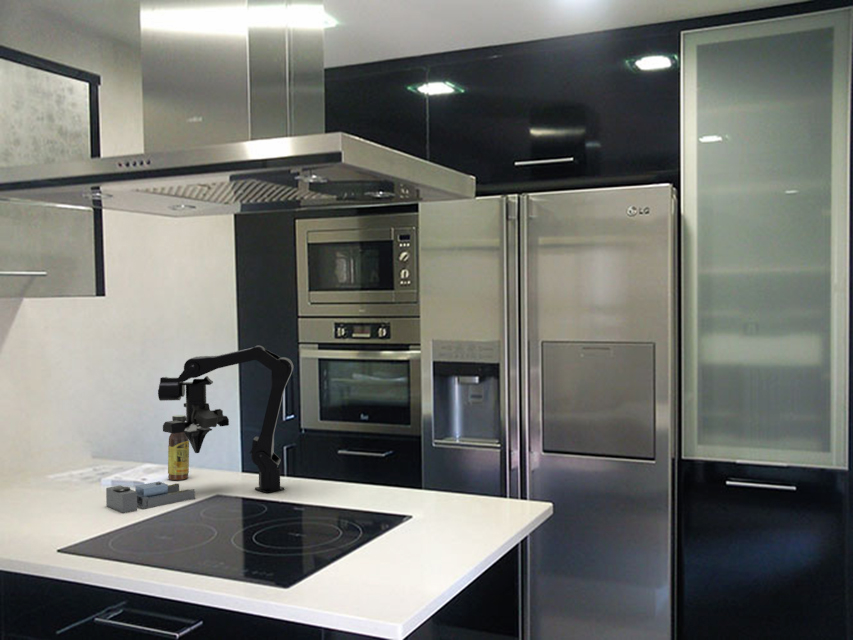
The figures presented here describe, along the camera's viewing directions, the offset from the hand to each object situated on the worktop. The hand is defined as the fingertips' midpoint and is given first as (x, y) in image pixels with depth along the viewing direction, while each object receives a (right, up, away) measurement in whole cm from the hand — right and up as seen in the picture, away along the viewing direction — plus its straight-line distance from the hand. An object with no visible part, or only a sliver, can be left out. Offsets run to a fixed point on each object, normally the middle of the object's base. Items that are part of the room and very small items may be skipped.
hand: (197, 452), depth 232 cm
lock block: (-9, -12, -12) cm, 19 cm away
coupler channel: (-9, -12, -12) cm, 19 cm away
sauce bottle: (-10, -11, +16) cm, 22 cm away
